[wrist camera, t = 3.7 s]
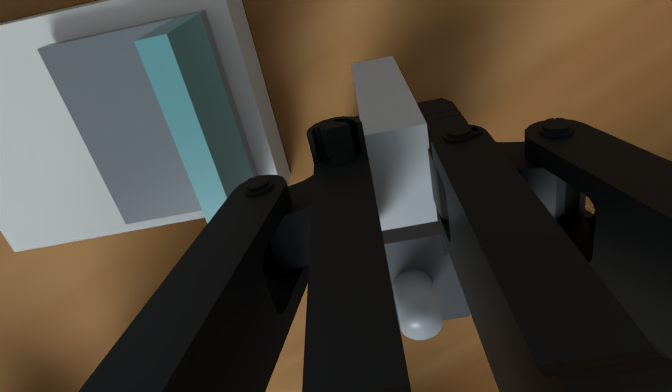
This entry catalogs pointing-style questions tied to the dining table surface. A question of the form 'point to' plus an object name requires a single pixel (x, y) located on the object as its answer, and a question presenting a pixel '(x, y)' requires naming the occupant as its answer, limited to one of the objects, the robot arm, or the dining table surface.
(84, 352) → the dining table surface
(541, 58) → the dining table surface
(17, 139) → the socket
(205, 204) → the panel
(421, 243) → the plug
